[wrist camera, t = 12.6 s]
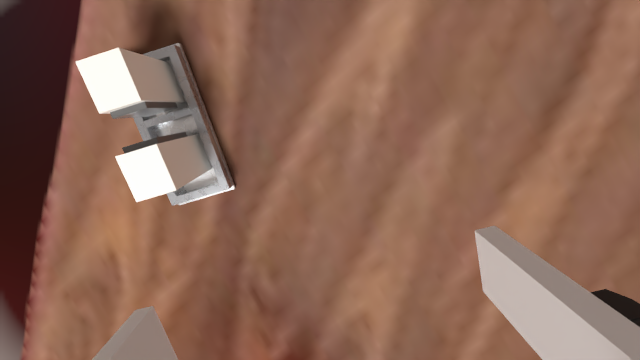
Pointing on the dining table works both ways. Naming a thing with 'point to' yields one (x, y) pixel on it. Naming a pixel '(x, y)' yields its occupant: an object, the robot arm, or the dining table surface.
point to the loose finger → (163, 164)
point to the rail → (188, 129)
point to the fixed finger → (130, 84)
